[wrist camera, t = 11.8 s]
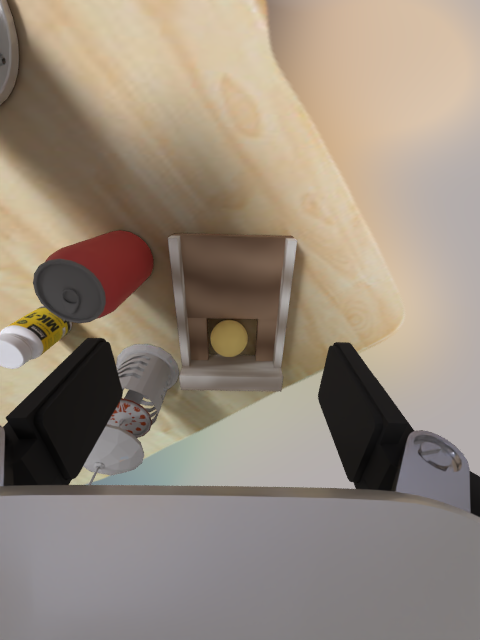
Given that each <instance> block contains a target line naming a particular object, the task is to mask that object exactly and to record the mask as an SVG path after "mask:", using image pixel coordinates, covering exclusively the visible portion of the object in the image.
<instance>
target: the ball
mask: <svg viewBox="0 0 480 640" xmlns="http://www.w3.org/2000/svg"><path fill="white" fill-rule="evenodd" d="M247 341H248V336H247V332H246V330H245V328H244V327H243V326H242V325H241V324H240V323H239V322H237V321H234V320H224V321H222V322H220V323H218V324H217V325H216V326H215V327H214V328H213V330H212V333H211V344H212V347H213V349H214V350H215V351H216V352H217V353H218V354H220V355H222V356H224V357H234V356H236V355H238V354H240V353H241V352H242V351H243V350H244V349H245V347H246V345H247Z"/></svg>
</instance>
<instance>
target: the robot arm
mask: <svg viewBox="0 0 480 640" xmlns="http://www.w3.org/2000/svg"><path fill="white" fill-rule="evenodd" d="M18 65H19V50H18V39H17V34H16V29H15V25H14V20H13V17H12V14H11V11H10V8H9V6H8V3H7V0H0V105H1V104H2V103H3V102H4V101H5V100H6V99H7V98H8V96H9V95H10V93H11V91H12V90H13V88H14V85H15V81H16V78H17V75H18ZM122 394H123V391H122V386H121V383H120V379H119V376H118V372H117V368H116V365H115V361H114V357H113V354H112V350H111V346H110V343H109V342H106V340H105V339H103V338H87V339H86V340H85V341H84V342H83V343H82V344H81V345H80V346H79V347H78V348H77V349H76V350H75V351H74V352H73V353H72V354H71V355H69V356H68V357H67V358H66V359H65V360H64V361H63V362H62V363H61V364H60V365H59V366H58V367H57V368H56V369H55V370H54V371H53V372H52V373H51V374H50V375H49V376H48V377H47V378H46V379H45V380H44V381H43V382H42V383H41V384H40V385H39V386H38V387H37V388H36V389H35V390H34V391H33V392H32V393H30V394H29V395H28V396H27V397H26V398H25V399H24V400H23V401H22V402H21V403H20V404H19V405H18V406H17V407H16V408H15V409H14V410H13V411H12V412H11V413H10V414H9V415H8V416H7V417H6V419H7V421H8V423H7V424H6V425H5V426H4V427H1V426H0V640H480V477H479V476H478V475H476V474H474V473H472V472H471V471H469V465H468V461H467V460H466V458H465V457H464V455H463V453H461V451H460V450H459V449H458V448H457V447H456V446H455V445H453V444H452V443H451V442H449V441H448V440H446V439H445V438H443V437H441V436H439V435H437V434H434V433H432V432H428V431H423V430H420V431H414V430H413V429H412V427H411V426H410V424H409V423H408V422H407V420H406V419H405V417H404V416H403V415H402V413H401V412H400V410H399V409H398V408H397V406H396V405H395V404H394V402H393V401H392V400H391V398H390V397H389V395H388V394H387V393H386V391H385V390H384V388H383V387H382V386H381V384H380V383H379V382H378V380H377V379H376V378H375V377H374V375H373V374H372V372H371V371H370V370H369V368H368V367H367V365H366V364H365V363H364V361H363V360H362V359H361V357H360V356H359V354H358V353H357V352H356V350H355V349H354V347H353V346H352V345H351V344H350V343H341V342H336V343H334V345H333V346H330V347H329V350H328V354H327V358H326V363H325V367H324V371H323V376H322V380H321V384H320V389H319V394H318V397H319V398H318V399H319V403H320V405H321V408H322V411H323V414H324V416H325V419H326V422H327V424H328V427H329V430H330V432H331V435H332V437H333V440H334V443H335V446H336V448H337V450H338V454H339V456H340V459H341V462H342V464H343V467H344V470H345V472H346V475H347V478H348V479H349V481H350V482H354V485H355V487H356V489H337V488H299V487H295V488H294V487H239V486H238V487H237V486H149V485H148V486H147V485H144V486H143V485H142V486H141V485H69V483H70V481H71V480H72V479H74V478H76V477H77V476H78V474H79V473H80V471H81V469H82V467H83V465H84V464H85V462H86V460H87V458H88V457H89V455H90V453H91V451H92V450H93V448H94V446H95V444H96V442H97V441H98V439H99V437H100V435H101V434H102V432H103V430H104V428H105V427H106V425H107V423H108V421H109V420H110V418H111V416H112V414H113V412H114V411H115V409H116V407H117V405H118V404H119V402H120V400H121V398H122Z"/></svg>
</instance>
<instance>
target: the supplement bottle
mask: <svg viewBox="0 0 480 640" xmlns="http://www.w3.org/2000/svg"><path fill="white" fill-rule="evenodd" d="M71 327H72V322H69V321H66V320H64V319H61V318H59V317H57V316H56V315H54V314H53V313H51V312H50V311H49V310H48V309H47V308H46V307H45V306H42V307H40V308H38V309H37V310H35V311H33V312H31V313H29V314H28V315H26V316H24V317H23V318H21V319H19V320H17V321H16V322H14V323H12V324H10V325H9V326H7V327H5V328H4V329H3V330H2V331H1V332H0V366H2V367H5V368H11V369H14V368H19V367H21V366H22V365H24V364H25V363H26V362H28V361H29V360H31V359H35V358H37V357H39V356H40V355H42V354H43V353H44V352H45V351H47V350H48V349H49V348H50V347H51V346H53V345H54V344H55V343H56V342H58V341H59V340H60V339H61V338H62V337H64V336H65V335H66V334H67V333H68V332H69V331H70V330H71Z"/></svg>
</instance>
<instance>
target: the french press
mask: <svg viewBox="0 0 480 640" xmlns="http://www.w3.org/2000/svg"><path fill="white" fill-rule="evenodd" d="M116 367H117V372H118V376H119V379H120V383H121V386H122V391H123V390H124V388H126V389H129V391H128V392H127V394H126V396H125V398H124V399H123V398H121V400H120V402H119V404H118V405H117V407H116V409H115V411H114V412H113V414H112V416H111V418H110V420H109V421H108V423H107V425H106V427H105V428H104V430H103V432H102V434H101V435H100V437H99V439H98V441H97V442H96V444H95V446H94V448H93V450H92V451H91V453H90V455H89V457H88V458H87V460H86V462H85V464H84V465H83V466H84V467H85V468H86V469H88V470H89V471H91V472H95V473H94V475H93V477H92V479H91V481H90V483H89V484H88V485H91V483H92V482H93V480H94V478H95V476H96V474H97V473H101V474H107V475H115V474H120V473H124V472H127V471H131V470H134V469H136V467H138V466H139V465H140V464H142V461H143V457H144V452H143V448H142V445H141V442H140V441H139V440H138V439H137V438H138V437H141V436H144V435H145V434H146V433H147V432H148V431H150V428H151V425H152V424H153V423H154V422H155V421H156V419H157V416H158V414H159V411H160V408H161V405H162V403H163V400H164V397H165V394H166V392H165V391H167V389H170V388H171V387H172V386H173V385H174V384H175V383H176V382H177V379H178V376H179V370H178V365H177V363H176V361H175V360H174V359H173V357H172V356H171V355H170V354H169V353H167V352H166V351H164V350H163V349H161V348H159V347H156V346H153V345H149V344H135V345H132V346H130V347H127V348H125V349H124V350H123V351H122V352H121V353H120V354H119V356H118V358H117V364H116ZM162 395H163V396H162ZM161 396H162V397H161ZM143 397H144V398H146V399H150V400H151V401H152V402H146V401H144V400H142V399H143ZM162 398H163V399H162ZM140 404H143V405H151V406H153V405H154V406H155V407H153V408H151V409H148V408H144V407H143V406H141V405H140ZM155 409H156V410H157V411H155V412H154V413H152V414H150V415H149V413H148V412H151V411H153V410H155ZM156 413H157V414H156ZM155 414H156V416H155V417H154V419H152V420H151V417H153V416H154V415H155Z"/></svg>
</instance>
